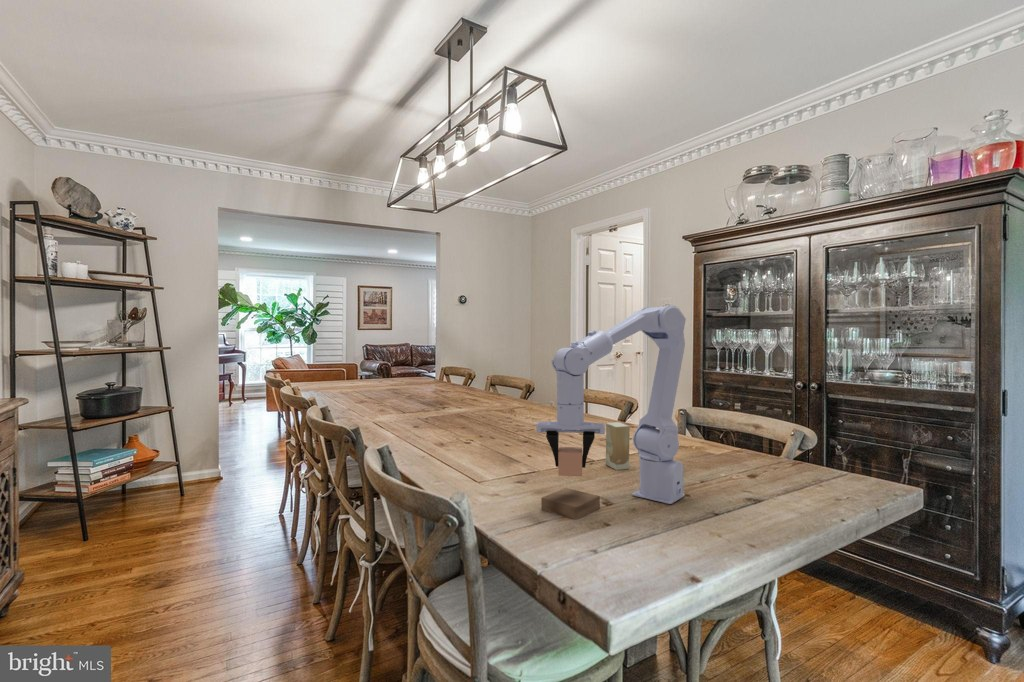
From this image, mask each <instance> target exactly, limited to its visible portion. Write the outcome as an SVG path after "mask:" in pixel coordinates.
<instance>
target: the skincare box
mask: <svg viewBox="0 0 1024 682" xmlns="http://www.w3.org/2000/svg"><path fill="white" fill-rule="evenodd" d="M630 431H631V429H630V425H627V424H626V423H625V424H624V423H623V422H620V421H615V422H606V423H605V465H607V466H608V467H610V468H612V469H614V471H619V470H628V469H630Z"/></svg>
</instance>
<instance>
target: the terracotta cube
mask: <svg viewBox="0 0 1024 682" xmlns="http://www.w3.org/2000/svg"><path fill="white" fill-rule="evenodd" d="M558 449H559V451H558V467H557V468H558V475H557V476H559V477H561V476H562V477H583V468H582V455H583V446H581V447H579V446H558Z"/></svg>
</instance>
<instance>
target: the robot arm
mask: <svg viewBox="0 0 1024 682" xmlns="http://www.w3.org/2000/svg"><path fill="white" fill-rule="evenodd" d="M686 320H687V318H686V317H685V315H684V313H682V311H681V309H680V308H679V307H677V306H676V305H673V304H670V305H665V306H654V307H653V306H651V307H650V306H646V307H643V308H641V309H640V310H637V311H634V312H633V313H632V314H630V315H629V316H628V317H626V318H625V319H623V320H622V321H620V322H618V323H617V324H615V325H614V326H612V327H610V328H609V329H607V330H606V331H603V330H601V329H599V330H590V331H588V332H587V335H586V336H585V337H583V338H581V339H579V340H578V341H576V340H574V341H572V342H571V343H570V347H562V348H559V349H558V350H557V351H556V352H555V353H556V354H554V355H553V359H552V360H551V365H552V367H553V369H554V371H555V372H556V421H544V422H543V421H537V422H536V433H540V434H541V433H546V434H545V438H546V439H547V442H548V444H549V446H550V448H551V452H552V455H553V458H554V463H555V467H556V468H558V451H559V438H560V437H559V436H560V435H559V433H571V434H572V433H573V434H574V433H576V434H579V433H580V434H582V469H583V468H586V463H587V459H588V455H589V452H590V449H591V447H592V444H593V443H594V440H595V437H596V435H595V434H599V435H606V423H600V422H588V421H587V422H586V421H584V420H585V413H584V412H585V411H584V410H585V409H584V408H585V407H584V406H585V404H584V402H585V401H584V398H585V397H584V396H585V393H584V392H585V391H584V389H585V388H584V387H585V386H584V378H585V377H584V374H586V372H587V371H588V369H589V366H590V365H592V364H595V362H597V361H599V360H600V359H602V358H604V357H605V356H608V355H609V354H611V352H612V351H613V346H614V345H615V344H617V343H619V342H621V341H623V340H625V339H627V338H629V337H631V336H632V335H635V334H636V333H638V332H642V333H643V334H644V335H646V336H647V337H648V338H650V339H651V341H653V342H654V343H655V345H656V347H658V354H657V355H658V357H657V361H656V365H655V366H656V367H655V372H654V377H653V382H652V388H651V391H650V398H649V404H648V407H647V408H648V409H647V413H646V414H645V415H643V417H641V418H640V419H639V422H638V426H637V427H636V429H635V431H634V433H633V436H632V444H633V446H634V448H635V449H636V450H637V455H638V456H639V459H638V460H639V463H638V464H639V489H638V490H636V491H634V492H632V494H631V495H632V496H635V497H638V498H642V499H647V500H651V501H655V502H659V503H663V504H667V505H672V504H674V503H675V502H677V501H678V500H680V499H682V498H684V497H685V495H686V494H685V493H684V466H683V463H682V462H681V461H678V460H675V459H674V458H675V456H676V455H677V453H678V451H679V447H680V441H679V436H678V435H679V428H678V426H677V425H676V423H675V421H674V420H673V418H672V417H673V412H674V407H675V402H676V396H677V390H678V386H679V385H678V384H679V379H680V375H681V374H680V373H681V370H682V365H683V364H682V363H683V359H684V353H685V349H686V348H685V346H686V339H685V333H684V331H685V326H686Z"/></svg>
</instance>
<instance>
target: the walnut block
mask: <svg viewBox="0 0 1024 682" xmlns="http://www.w3.org/2000/svg"><path fill="white" fill-rule="evenodd" d="M600 497H601V496H600V495H597V494H593V493H588V492H586V491H585V492H584V491H580V490H576V489H572V488H568V487H564V488H562V489H560V490H557V491H554V492H552V493H550V494H548V495H545V496H543V497H541V498H540V499H541V511H545V512H548V513H550V514H554V515H558V516H562V517H564V518H569V519H572V520H576V521H577V520H579V519H581V518H584V517H585V516H587V515H589V514H592V513H593V512H594V511H597V510H599V509H600V507H601V504H600V501H601V500H600Z"/></svg>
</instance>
